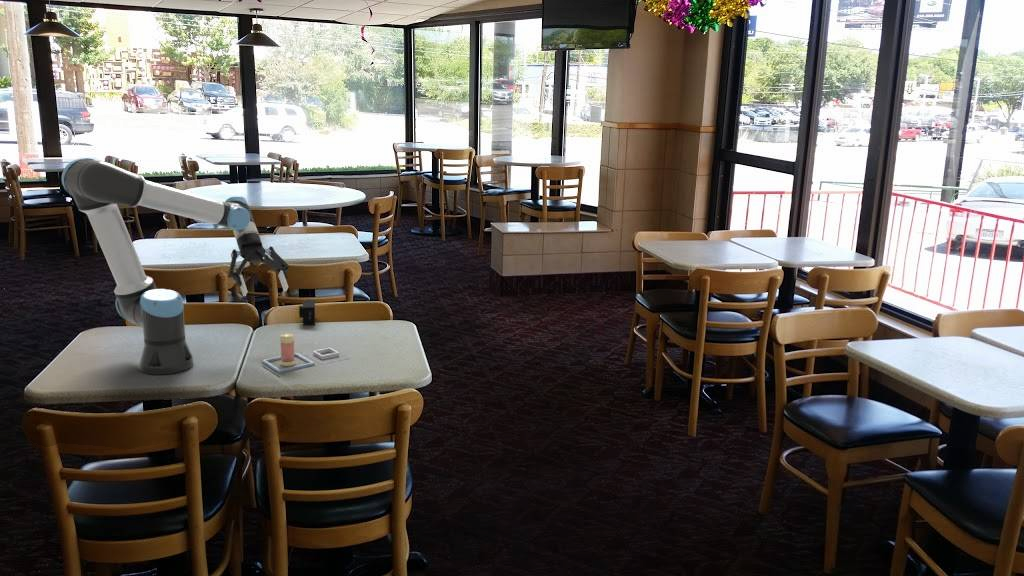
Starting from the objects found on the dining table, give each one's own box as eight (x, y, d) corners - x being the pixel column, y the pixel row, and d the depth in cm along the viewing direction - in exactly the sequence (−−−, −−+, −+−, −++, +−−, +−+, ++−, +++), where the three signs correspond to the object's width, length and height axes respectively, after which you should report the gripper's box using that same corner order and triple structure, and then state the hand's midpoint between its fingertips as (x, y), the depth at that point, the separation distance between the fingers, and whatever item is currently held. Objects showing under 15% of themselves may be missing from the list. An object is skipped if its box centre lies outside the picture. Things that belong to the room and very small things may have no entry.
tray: (278, 377, 238) (278, 370, 238) (262, 366, 247) (261, 360, 246) (314, 369, 246) (314, 362, 245) (297, 359, 254) (297, 352, 254)
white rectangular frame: (322, 369, 246) (322, 360, 245) (301, 356, 256) (301, 349, 256) (351, 362, 253) (350, 354, 252) (329, 351, 263) (329, 343, 262)
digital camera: (300, 317, 299) (299, 300, 297) (315, 317, 300) (314, 299, 299) (299, 325, 289) (299, 307, 288) (315, 325, 291) (314, 306, 289)
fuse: (284, 369, 243) (283, 338, 241) (279, 365, 246) (277, 335, 244) (297, 366, 246) (296, 336, 243) (291, 363, 249) (290, 332, 246)
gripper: (280, 241, 275) (299, 293, 267) (207, 247, 259) (225, 302, 252) (286, 229, 270) (305, 281, 262) (212, 234, 254) (230, 289, 247)
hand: (266, 291), depth 257 cm, fingers open, 13 cm apart
